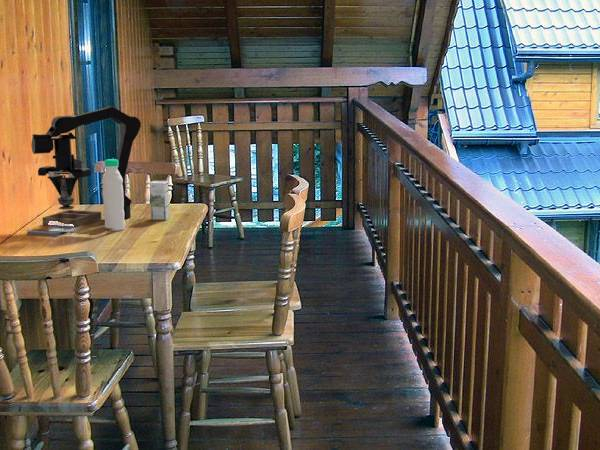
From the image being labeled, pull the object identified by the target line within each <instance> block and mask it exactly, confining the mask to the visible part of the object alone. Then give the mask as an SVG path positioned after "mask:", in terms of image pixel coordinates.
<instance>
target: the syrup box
mask: <svg viewBox="0 0 600 450" xmlns="http://www.w3.org/2000/svg"><path fill="white" fill-rule="evenodd" d="M149 192H150V193H149V194H150V195H149V196H150V198H149V199H150V214H151V215H150V216H151V217H150V218H151V221H167V220H169V219H170V207H169V206H170V201H169V199H170V198H169V196H170V195H169V181H168V180H151V181H150V182H149Z"/></svg>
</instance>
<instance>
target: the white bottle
mask: <svg viewBox="0 0 600 450" xmlns="http://www.w3.org/2000/svg"><path fill="white" fill-rule="evenodd" d="M118 165H119V162H118V160H117V159H116V158H110V159H109V158H107V159H105V160H104V168H106V169H105V172H104V175H103V177H102V181H101V183H102V197H103V208H104V210H103V211H104V212H103V216H104V228H105V229H106V231H107V232H120V231H123V230H125V229H126V221H125V220H124V216H125V215H124V195H123V185H122V183H123V179H122V177H121V175H120V173H119V171H118V169H117V168H118Z"/></svg>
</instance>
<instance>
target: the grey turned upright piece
mask: <svg viewBox="0 0 600 450" xmlns="http://www.w3.org/2000/svg"><path fill="white" fill-rule="evenodd" d="M63 175H64V176H63V178H62V179H61V188H60V189H61V196H60V197H58V198H57V200H58V204H59V205H60V207H58V210H64V211H67V210H74V208H75V207H74V206H73V205H72V204H73V203H74V199H75V197H74V196H69V194H68V190H67V184H66V178H67V177H66V174H63Z"/></svg>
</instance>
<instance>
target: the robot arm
mask: <svg viewBox="0 0 600 450" xmlns="http://www.w3.org/2000/svg"><path fill="white" fill-rule="evenodd" d="M106 119H111V120H112V121H114V122H115V123H116V124H118V125H119V134H120V140H119V141H120V142H119V145H118V146H119V147H118V150H117V154H116V158H115V159H117V160H118V162H119V165H118V168H117V169H118V171H119V173H120V175H121V177H122V179H123V183H122V185H123V195H124V215H125V216H124V220H129V219H131V205H132V199H130V198H129V197H128V196H127V195H126V181H125V180H126V179H125V178H126V174H127V168H128V165H129V161H130V155H131V152H132V151H131V150H132V146H133V144H134V141H135V139H136V137H137V136H138V135H139V131H140V130H141V125H142V123H141V120H140V119H139V118H138V117H137V116H131V115H128V114H126V113H125V112H122V110H119V109H118V108H117V107H115V106H113V105H112V106H111V105H108V106H106V107H103V108H100V109H95V110H92V111H87V112H82V113H80V114H75V115H74V114H73V115H59V116H55V117H53V119H52V121H51V123H50V124H51V126H50V127H49V129H48V130H47V132H46V133H44V134H42V133H41V134H38V133H37V134H36V133H33V134H32V135H31V136H32V138H31V144H30V146H31V152H32V154H33V155H35V154H36V155H38V154H51V152H52V151H53V150H54V155H52V159H53V160H54V164H55V166H53V165H52V166H50V165H46V166H45V165H44V166H41V167H38V169H37V176H38V177H39V176H41V177H42V176H43V177H45V176H46V175H48V176H47V179H49V180H50V181H51V183H52V184H53V186H54V188H55V189H56V191H57V194H58V195H59V196H60V197H61V189H60V188H61V179H62V178H63V177H64V175H68V177H66V184H67V190H68V194H69V196H71V197H73V196H72V195H73V192H74V189H75V185H76V184H77V181H78V180H79V179H81V178H85V177H90V176H92V171H91V169H90V168H89V167H82V165H83V161H81V160H79V159H77V158H75V155H74V153H73V154H72V144H71V140H77V136H75V135H74V134H73V132H72V131H74V130H76V129H78V128H79V127H81V126H84V125H87V124H92V123H97V122H99V121H103V120H106Z"/></svg>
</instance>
